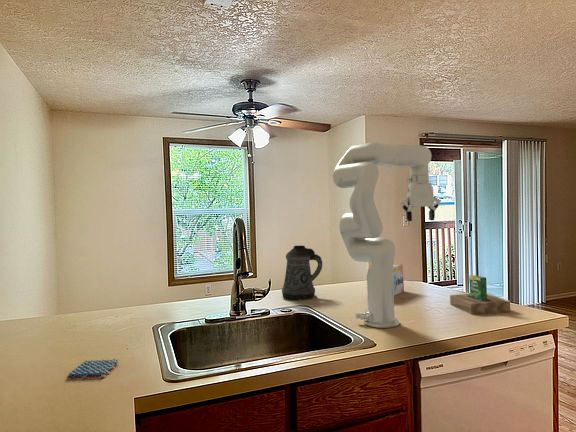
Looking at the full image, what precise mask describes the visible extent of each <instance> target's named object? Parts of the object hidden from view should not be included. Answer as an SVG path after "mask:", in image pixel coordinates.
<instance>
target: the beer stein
mask: <svg viewBox="0 0 576 432" xmlns="http://www.w3.org/2000/svg"><path fill="white" fill-rule="evenodd" d="M285 259H286V269H285V275H284V282H283V285H282V287H281V294H282V298H283V299H284V300H288V301H307V300H310V299H314V298H315V293H316V288H315V287H314V286H315V285H314V282H313V281H314V280H315V279H316V278H317V277H318V276H319V274H321V271H322V269H323V261H322V257H321V256H320V255H318V254H316V253H315V251H314V250H313V248H307V247H306V246H305V245H294V246H293V248H291V250H289V251H288V252H287V253H286V254H285ZM310 261H316V263H317V266H316V269H315V271H314V272H313V273H311V264H310V263H311V262H310Z"/></svg>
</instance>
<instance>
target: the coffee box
mask: <svg viewBox="0 0 576 432" xmlns="http://www.w3.org/2000/svg"><path fill="white" fill-rule="evenodd" d="M468 279H469V294H470V298H473V299H475V300H478V301H480V302H482V301H487V293H488V291H487V290H488V289H487V287H488V286H487V277H485V276H481V275H477V274H476V275H475V274H474V275H473V274H472V275H468Z"/></svg>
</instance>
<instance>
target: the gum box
mask: <svg viewBox="0 0 576 432" xmlns="http://www.w3.org/2000/svg"><path fill="white" fill-rule="evenodd" d="M403 267H404V265H403V264H400V265H397V264H394V265H393V283H394V296H396V295H399V294H401V293H403V292H405V284H404V270H403V269H404V268H403Z"/></svg>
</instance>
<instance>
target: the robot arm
mask: <svg viewBox="0 0 576 432" xmlns="http://www.w3.org/2000/svg"><path fill="white" fill-rule="evenodd" d="M431 161H432V152H431V149H429V148H428V147H427V146H425V145H418V144H390V143H386V142H385V143H384V142H378V141H376V142H375V141H372V142H366V143H359V144H355V145H352V146H350V148H349V149H348V150H347V151H346V152H345V154H343V156H342V157H341V159H340V160H339V161H338V163H337V165H335V168H334V170H333V173H332V179H333V182H334V185H335V186H336V187H338V188H341V189H350V188H351V189H352V188H353V190H352V191H353V192H352V194H351V195H350V198H349V205H348V206H349V209H350V212H346V213H345V214H343V215H341V217H340V219H339V225H338V227H339V233H340V235H341V237H342V238H341V239H342V240H343V241H342V242H343V243H344V245H345V248H346V251H348V255H349V256H350V258H351V259H353V260H354V261H356V262H360V263H370V264H371V265H370V267H369V269H367V273H366V290H367V293H366V294H367V295H366V296H367V309H365V311H363V312H357V313H355V314H354V317H355V319H356V320H357V319H360V320H363V323H364V324H365V325H366V326H367V327H368V326H369V327H372V328H380V329H389V328H394V327H397V326H399V325H400V319H398V318H397V317H396V316H395V295H394V283H393V265H395V263H394V262H395V258H396V245H395V243H394V241H393V240H391V239H390V238H388V237H382V236H381V235H382V233H383V223H382V220H381V217H380V214H379V212H378V209H377V206H376V203H375V199H374V195H375V194H374V193H375V189H376V187H377V182H378V179H379V168H378V167H385V168H396V167H398V168H401V169H407V168H409V177H407V178H406V180H407V182H409V184H408V186H407V192H406V193H407V197H405V198H404V199H402V200H400V201H399V204H400V206H401V208H402V209H403V210H404V211H405V213H406V214H405V215H406V221H407V222H412V221H413V217H412V216H413V214H412V213H413V212H412V211H411V210H412V209H413V208H418V207H419V208H421V207H422V208H423V207H426V208H427V209H429V211H428V220H429V221H435V218H436V215H435V214H436V212H435V211H436V210H437V208H438V207H439V205H440V203H441V200H440V199H439V198H436V197H435V196H434V189H433V186H432V183H431V182H430V175H429V173H430V171H429V165H430V162H431ZM405 203H407V204H405Z"/></svg>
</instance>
